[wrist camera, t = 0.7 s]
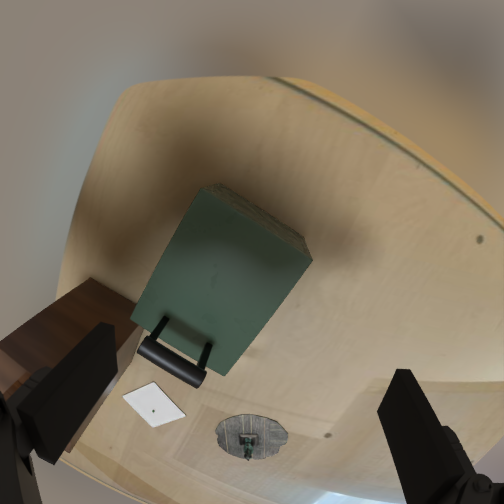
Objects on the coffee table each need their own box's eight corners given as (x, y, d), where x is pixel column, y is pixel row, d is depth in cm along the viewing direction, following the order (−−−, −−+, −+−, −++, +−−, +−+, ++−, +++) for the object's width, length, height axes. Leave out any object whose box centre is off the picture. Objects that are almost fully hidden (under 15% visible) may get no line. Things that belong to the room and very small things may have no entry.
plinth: (90, 277, 41) (-5, 344, 21) (150, 311, 41) (75, 404, 22) (78, 329, 43) (0, 403, 24) (131, 361, 44) (69, 453, 24)
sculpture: (241, 463, 49) (218, 474, 42) (225, 421, 53) (200, 426, 47) (299, 447, 46) (282, 459, 39) (281, 401, 50) (261, 406, 43)
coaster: (153, 381, 44) (152, 384, 43) (186, 415, 46) (184, 419, 45) (121, 396, 46) (120, 398, 45) (152, 427, 47) (151, 430, 46)
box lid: (225, 372, 32) (214, 417, 26) (132, 315, 31) (101, 349, 25) (312, 257, 28) (323, 285, 22) (202, 187, 28) (179, 193, 21)
